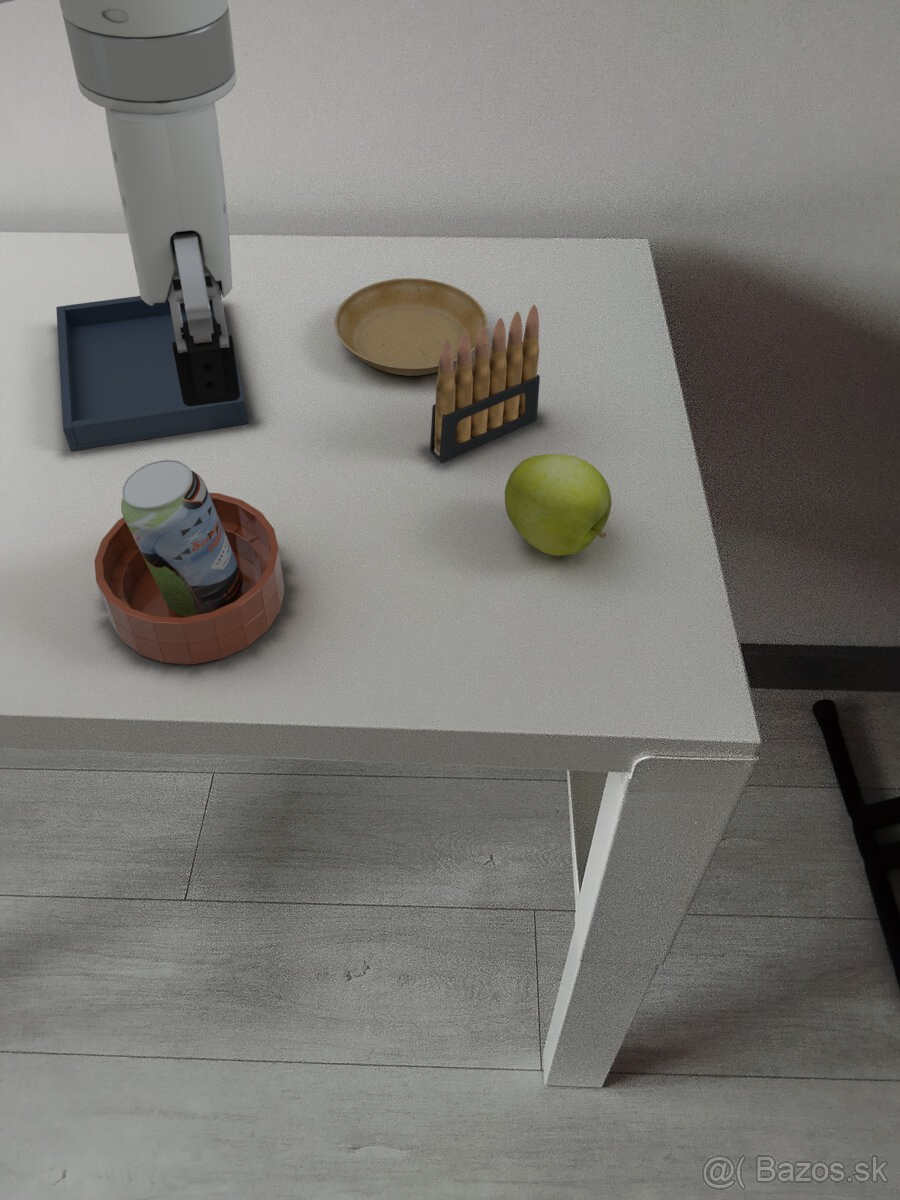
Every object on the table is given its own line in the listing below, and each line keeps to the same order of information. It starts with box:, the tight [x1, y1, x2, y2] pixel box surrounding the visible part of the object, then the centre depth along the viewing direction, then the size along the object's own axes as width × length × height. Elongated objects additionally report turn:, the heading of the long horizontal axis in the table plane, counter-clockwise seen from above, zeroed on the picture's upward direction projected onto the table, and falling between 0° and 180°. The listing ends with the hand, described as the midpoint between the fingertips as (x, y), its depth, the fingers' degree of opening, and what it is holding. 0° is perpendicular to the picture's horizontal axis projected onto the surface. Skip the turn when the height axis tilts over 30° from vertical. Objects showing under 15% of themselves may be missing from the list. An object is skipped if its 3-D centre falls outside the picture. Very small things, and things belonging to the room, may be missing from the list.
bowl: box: [93, 492, 286, 665], centre depth 78 cm, size 13×13×5 cm
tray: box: [55, 295, 249, 452], centre depth 97 cm, size 16×19×3 cm
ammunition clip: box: [429, 304, 541, 464], centre depth 89 cm, size 11×2×12 cm, turn 125°
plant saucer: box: [333, 277, 488, 377], centre depth 101 cm, size 15×15×3 cm
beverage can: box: [120, 459, 243, 617], centre depth 76 cm, size 6×7×12 cm
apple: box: [504, 453, 612, 556], centre depth 82 cm, size 8×9×8 cm
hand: (203, 350), depth 62 cm, fingers open, 9 cm apart
